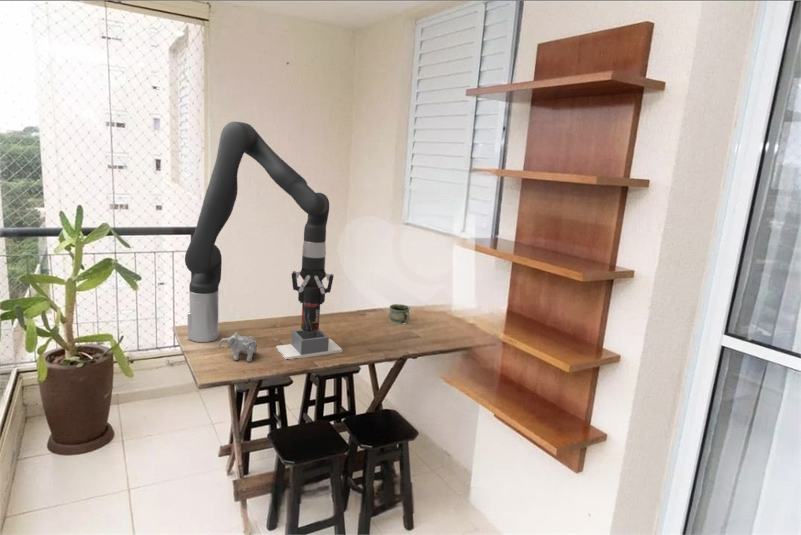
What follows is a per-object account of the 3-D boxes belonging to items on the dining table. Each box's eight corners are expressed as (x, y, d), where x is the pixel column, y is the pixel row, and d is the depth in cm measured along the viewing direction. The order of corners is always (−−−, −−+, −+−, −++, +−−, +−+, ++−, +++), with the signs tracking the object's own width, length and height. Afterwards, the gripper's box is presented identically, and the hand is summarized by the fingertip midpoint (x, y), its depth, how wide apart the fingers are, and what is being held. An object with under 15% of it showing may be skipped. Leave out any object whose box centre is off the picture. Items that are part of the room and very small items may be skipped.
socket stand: (285, 360, 164) (286, 343, 162) (276, 348, 172) (276, 332, 170) (342, 352, 174) (343, 335, 172) (330, 341, 182) (331, 325, 181)
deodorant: (315, 332, 168) (317, 289, 164) (298, 329, 169) (300, 287, 165) (321, 326, 173) (323, 285, 170) (305, 324, 174) (307, 282, 171)
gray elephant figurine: (258, 363, 161) (259, 340, 159) (218, 364, 156) (219, 340, 154) (254, 352, 169) (256, 330, 167) (217, 352, 164) (218, 330, 163)
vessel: (415, 324, 208) (417, 310, 207) (399, 327, 202) (401, 313, 201) (397, 315, 217) (398, 301, 215) (381, 318, 211) (382, 304, 210)
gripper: (290, 255, 161) (288, 305, 165) (335, 258, 162) (332, 308, 166) (293, 250, 168) (291, 298, 172) (336, 253, 169) (333, 301, 173)
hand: (311, 302), depth 169 cm, fingers closed on deodorant, 6 cm apart
